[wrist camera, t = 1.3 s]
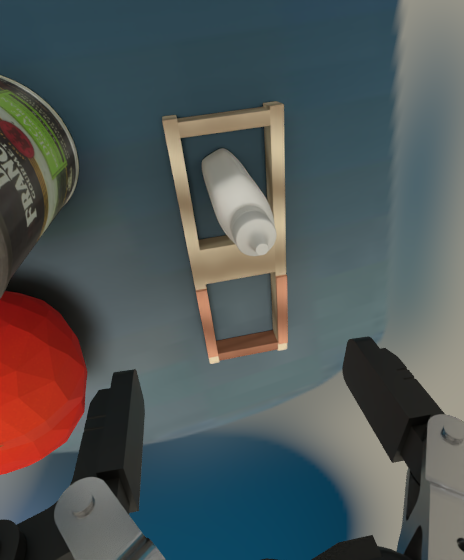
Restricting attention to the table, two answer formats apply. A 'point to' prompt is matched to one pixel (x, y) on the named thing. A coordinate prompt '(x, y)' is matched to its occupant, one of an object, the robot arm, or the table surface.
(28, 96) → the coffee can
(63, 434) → the tomato
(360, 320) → the table surface
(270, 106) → the rail
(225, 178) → the eye dropper bottle
